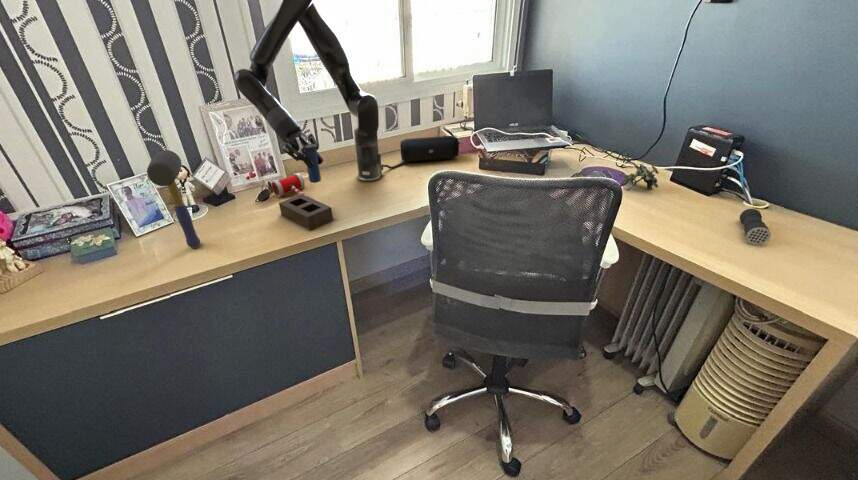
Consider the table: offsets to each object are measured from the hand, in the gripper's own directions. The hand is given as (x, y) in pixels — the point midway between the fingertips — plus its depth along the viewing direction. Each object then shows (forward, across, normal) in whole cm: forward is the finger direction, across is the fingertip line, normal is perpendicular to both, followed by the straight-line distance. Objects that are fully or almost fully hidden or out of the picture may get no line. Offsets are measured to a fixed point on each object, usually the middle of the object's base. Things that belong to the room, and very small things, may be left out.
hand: (317, 164), depth 140 cm
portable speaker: (+20, +65, +6) cm, 69 cm away
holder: (+10, -5, +16) cm, 19 cm away
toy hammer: (-1, +8, +27) cm, 28 cm away
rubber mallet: (-4, -37, +30) cm, 48 cm away
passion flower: (+81, +67, -56) cm, 119 cm away
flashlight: (+104, +45, -80) cm, 139 cm away
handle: (+3, 0, +6) cm, 6 cm away
